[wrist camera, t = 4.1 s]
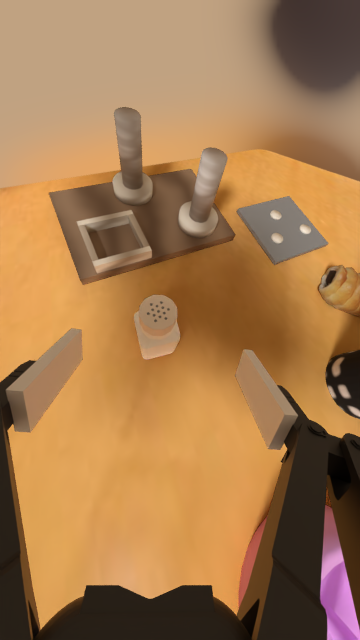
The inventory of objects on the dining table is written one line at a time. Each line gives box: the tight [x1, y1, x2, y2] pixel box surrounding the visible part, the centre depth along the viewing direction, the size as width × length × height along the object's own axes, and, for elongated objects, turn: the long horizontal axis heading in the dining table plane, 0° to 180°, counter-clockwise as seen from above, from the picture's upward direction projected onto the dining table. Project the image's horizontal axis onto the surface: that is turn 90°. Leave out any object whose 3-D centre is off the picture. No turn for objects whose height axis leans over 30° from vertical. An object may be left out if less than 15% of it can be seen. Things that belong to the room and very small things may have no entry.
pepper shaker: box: [134, 295, 180, 359], centre depth 21 cm, size 4×4×10 cm
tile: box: [237, 196, 328, 265], centre depth 35 cm, size 12×12×1 cm
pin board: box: [49, 107, 235, 285], centre depth 27 cm, size 24×16×11 cm, turn 116°
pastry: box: [319, 265, 360, 316], centre depth 30 cm, size 9×7×4 cm
